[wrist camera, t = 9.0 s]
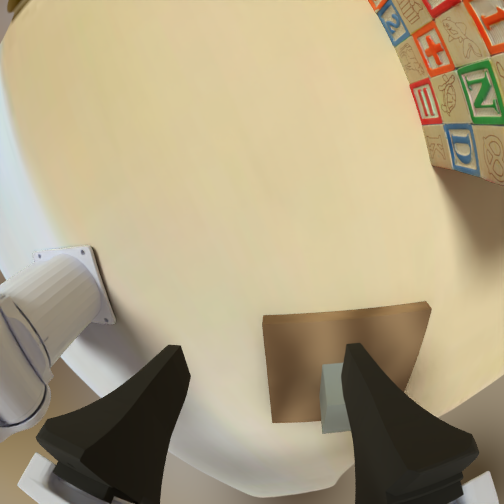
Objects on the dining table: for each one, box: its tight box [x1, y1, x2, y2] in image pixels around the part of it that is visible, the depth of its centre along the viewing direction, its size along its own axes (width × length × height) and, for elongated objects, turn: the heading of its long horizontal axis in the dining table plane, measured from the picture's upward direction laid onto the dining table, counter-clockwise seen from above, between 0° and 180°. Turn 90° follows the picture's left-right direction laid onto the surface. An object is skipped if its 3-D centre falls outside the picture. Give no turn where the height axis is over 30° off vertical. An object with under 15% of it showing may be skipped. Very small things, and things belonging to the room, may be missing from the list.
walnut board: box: [262, 301, 432, 423], centre depth 22 cm, size 14×14×1 cm
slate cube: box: [319, 363, 351, 434], centre depth 19 cm, size 4×4×4 cm
